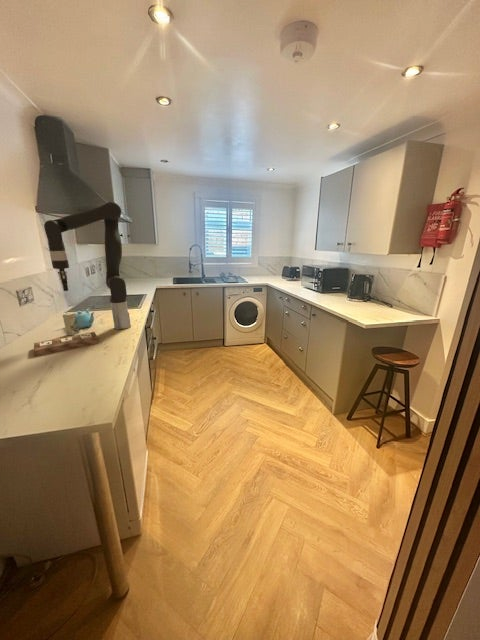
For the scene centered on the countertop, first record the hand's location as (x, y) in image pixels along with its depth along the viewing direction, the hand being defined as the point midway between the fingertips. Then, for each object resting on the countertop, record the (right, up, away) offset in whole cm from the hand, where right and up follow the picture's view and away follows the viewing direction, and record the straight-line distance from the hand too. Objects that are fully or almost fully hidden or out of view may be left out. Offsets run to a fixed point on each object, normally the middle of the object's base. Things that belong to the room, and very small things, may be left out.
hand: (66, 290), depth 143 cm
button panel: (+6, -31, -7) cm, 32 cm away
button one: (+6, -30, -7) cm, 32 cm away
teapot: (-6, -21, +25) cm, 33 cm away
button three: (+13, -29, -2) cm, 32 cm away
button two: (-2, -32, -12) cm, 34 cm away
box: (-3, -25, +10) cm, 27 cm away
